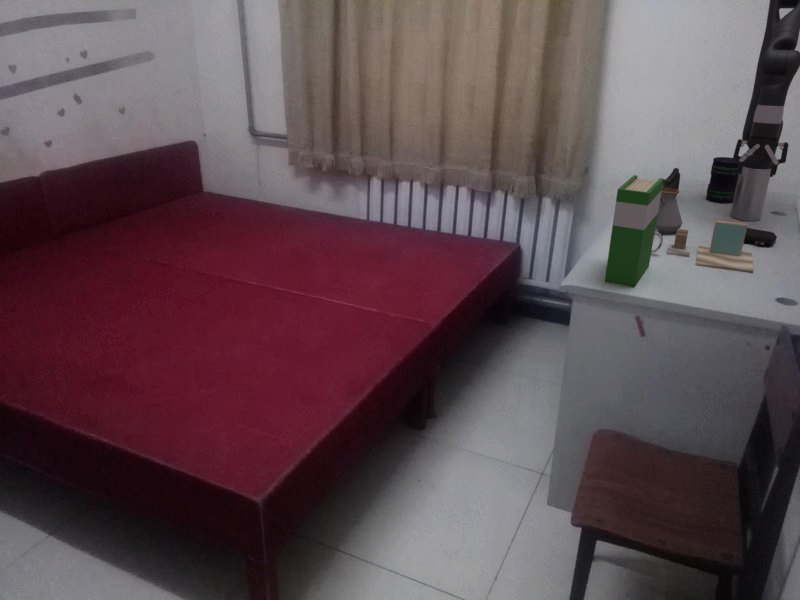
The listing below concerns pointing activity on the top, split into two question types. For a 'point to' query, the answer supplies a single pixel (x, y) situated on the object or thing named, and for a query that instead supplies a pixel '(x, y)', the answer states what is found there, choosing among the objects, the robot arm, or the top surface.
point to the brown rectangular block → (679, 244)
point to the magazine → (672, 180)
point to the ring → (660, 241)
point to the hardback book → (633, 230)
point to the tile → (728, 238)
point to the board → (724, 260)
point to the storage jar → (723, 180)
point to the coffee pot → (668, 212)
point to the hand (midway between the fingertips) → (755, 175)
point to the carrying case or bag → (759, 237)
